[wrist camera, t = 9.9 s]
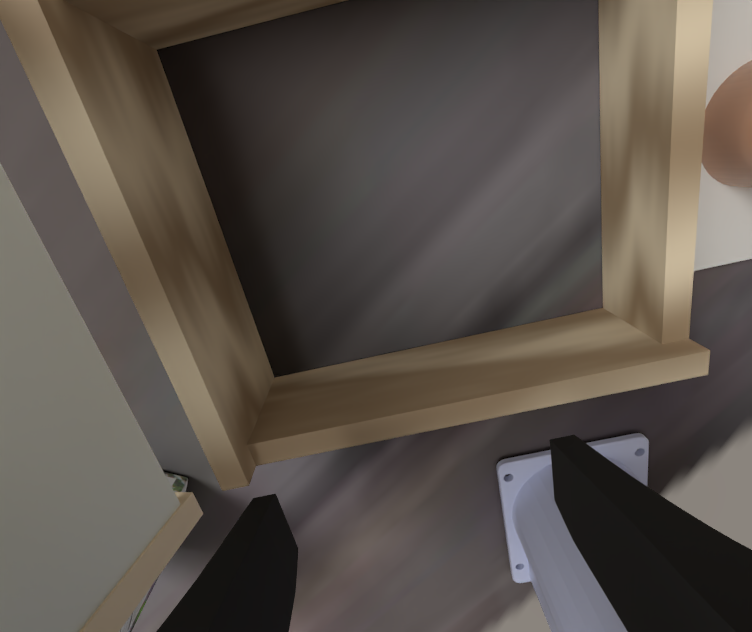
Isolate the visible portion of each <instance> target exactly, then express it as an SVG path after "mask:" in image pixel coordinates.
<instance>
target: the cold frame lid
mask: <svg viewBox="0 0 752 632" xmlns="http://www.w3.org/2000/svg"><path fill="white" fill-rule="evenodd" d="M202 515H203V512H202V510H201V508H200V506H199V504H198V502H197V500H196V498H195V496H194V494H193V492H174V491H173V489H172V487H171V485H170V483H169V481H168V479H167V477H166V476H165V474H164V472H163V470H162V468H161V466H160V464H159V462H158V460H157V459H156V457H155V455H154V453H153V451H152V449H151V447H150V445H149V443H148V441H147V440H146V438H145V436H144V434H143V432H142V430H141V428H140V426H139V424H138V423H137V421H136V419H135V417H134V415H133V413H132V411H131V409H130V407H129V406H128V404H127V402H126V400H125V398H124V396H123V394H122V392H121V390H120V389H119V387H118V385H117V383H116V381H115V379H114V377H113V375H112V373H111V371H110V370H109V368H108V366H107V364H106V362H105V360H104V358H103V356H102V354H101V353H100V351H99V349H98V347H97V345H96V343H95V341H94V339H93V337H92V336H91V334H90V332H89V330H88V328H87V326H86V324H85V322H84V320H83V319H82V317H81V315H80V313H79V311H78V309H77V307H76V305H75V303H74V301H73V300H72V298H71V296H70V294H69V292H68V290H67V288H66V286H65V284H64V283H63V281H62V279H61V277H60V275H59V273H58V271H57V269H56V267H55V266H54V264H53V262H52V260H51V258H50V256H49V254H48V252H47V250H46V249H45V247H44V245H43V243H42V241H41V239H40V237H39V235H38V233H37V231H36V230H35V228H34V226H33V224H32V222H31V220H30V218H29V216H28V214H27V213H26V211H25V209H24V207H23V205H22V203H21V201H20V199H19V197H18V196H17V194H16V192H15V190H14V188H13V186H12V184H11V182H10V180H9V179H8V177H7V175H6V173H5V171H4V169H3V167H2V165H1V163H0V632H119V631H120V629H121V628H122V627H123V625H124V624H125V622H126V621H127V620H128V618H129V617H130V615H131V614H132V613H133V611H134V610H135V608H136V607H137V606H138V604H139V603H140V601H141V600H142V599H143V597H144V596H145V595H146V593H147V592H148V590H149V589H150V588H151V586H152V585H153V583H154V582H155V581H156V579H157V578H158V576H159V575H160V574H161V572H162V571H163V569H164V568H165V567H166V565H167V564H168V562H169V561H170V560H171V558H172V557H173V555H174V554H175V553H176V551H177V550H178V549H179V547H180V546H181V544H182V543H183V542H184V540H185V539H186V537H187V536H188V535H189V533H190V532H191V530H192V529H193V528H194V526H195V525H196V523H197V522H198V521H199V519H200V518H201V516H202Z"/></svg>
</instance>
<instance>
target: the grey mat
mask: <svg viewBox="0 0 752 632" xmlns="http://www.w3.org/2000/svg"><path fill="white" fill-rule="evenodd" d="M751 60H752V0H713V10H712V24H711V38H710V52H709V66H708V79H707V93H706V107H707V105H708V103H709V101H710V100H711V98H712V96H713V95H714V93H715V92H716V90H717V89H718V88H719V86H720V85H721V84H722V83H723V82H724V81H725V80H726V79H727V78H728V77H729V76H730V75H731V74H732V73H733V72H734V71H736V70H737V69H738V68H740V67H741V66H742V65H744V64H746V63H747V62H749V61H751ZM706 107H705V109H706ZM748 259H752V188H745V187H734V186H728V185H725V184H722V183H720V182H718V181H717V180H715V179H714V178H712V177H711V176H710V175H709V174H708V172H707V171H706V169H705V168H704V166H703V164H702V163H701V177H700V191H699V205H698V219H697V232H696V246H695V260H694V271H697V270H701V269H706V268H711V267H715V266H720V265H725V264H729V263H734V262H739V261H743V260H748Z"/></svg>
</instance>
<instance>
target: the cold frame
mask: <svg viewBox="0 0 752 632" xmlns="http://www.w3.org/2000/svg"><path fill="white" fill-rule="evenodd" d="M343 1H347V0H0V19H1V21H2V23H3V26H4V28H5V30H6V32H7V34H8V36H9V38H10V40H11V43H12V45H13V47H14V49H15V51H16V53H17V55H18V57H19V60H20V62H21V64H22V66H23V68H24V70H25V72H26V74H27V77H28V79H29V81H30V83H31V85H32V87H33V89H34V91H35V94H36V96H37V98H38V100H39V102H40V104H41V106H42V109H43V111H44V113H45V115H46V117H47V119H48V121H49V123H50V126H51V128H52V130H53V132H54V134H55V136H56V138H57V140H58V143H59V145H60V147H61V149H62V151H63V153H64V155H65V157H66V160H67V162H68V164H69V166H70V168H71V170H72V172H73V174H74V177H75V179H76V181H77V183H78V185H79V187H80V189H81V191H82V194H83V196H84V198H85V200H86V202H87V204H88V206H89V208H90V211H91V213H92V215H93V217H94V219H95V221H96V223H97V225H98V228H99V230H100V232H101V234H102V236H103V238H104V240H105V242H106V245H107V247H108V249H109V251H110V253H111V255H112V257H113V259H114V262H115V264H116V266H117V268H118V270H119V272H120V274H121V276H122V279H123V281H124V283H125V285H126V287H127V289H128V291H129V293H130V296H131V298H132V300H133V302H134V304H135V306H136V308H137V310H138V313H139V315H140V317H141V319H142V321H143V323H144V325H145V327H146V330H147V332H148V334H149V336H150V338H151V340H152V342H153V344H154V347H155V349H156V351H157V353H158V355H159V357H160V359H161V361H162V364H163V366H164V368H165V370H166V372H167V374H168V376H169V378H170V381H171V383H172V385H173V387H174V389H175V391H176V393H177V395H178V398H179V400H180V402H181V404H182V406H183V408H184V410H185V412H186V415H187V417H188V419H189V421H190V423H191V425H192V427H193V429H194V432H195V434H196V436H197V438H198V440H199V442H200V444H201V446H202V449H203V451H204V453H205V455H206V457H207V459H208V461H209V463H210V466H211V468H212V470H213V472H214V474H215V476H216V478H217V480H218V483H219V485H220V487H221V489H222V491H224V490H229V489H234V488H239V487H244V486H249V484H250V481H251V478H252V476H253V473H254V470H255V467H256V466H258V465H263V464H267V463H272V462H277V461H282V460H287V459H292V458H297V457H302V456H307V455H312V454H317V453H322V452H327V451H332V450H337V449H342V448H347V447H352V446H357V445H362V444H367V443H372V442H377V441H382V440H387V439H392V438H396V437H401V436H406V435H411V434H416V433H421V432H426V431H431V430H436V429H441V428H446V427H451V426H456V425H461V424H466V423H471V422H476V421H481V420H486V419H491V418H496V417H501V416H506V415H511V414H516V413H520V412H525V411H530V410H535V409H540V408H545V407H550V406H555V405H560V404H565V403H570V402H575V401H580V400H585V399H590V398H595V397H600V396H605V395H610V394H615V393H620V392H625V391H630V390H635V389H640V388H645V387H649V386H654V385H659V384H664V383H669V382H674V381H679V380H684V379H689V378H694V377H699V376H704V375H708V369H709V359H710V350H709V349H707V348H705V347H703V346H701V345H699V344H698V343H696V342H694V341H692V340H690V339H689V330H690V316H691V302H692V288H693V274H694V260H695V246H696V232H697V219H698V205H699V191H700V177H701V163H702V149H703V135H704V121H705V107H706V93H707V79H708V66H709V52H710V38H711V24H712V10H713V0H598V1H599V71H600V141H601V210H602V280H603V308H600V309H595V310H590V311H585V312H581V313H576V314H571V315H567V316H562V317H557V318H553V319H548V320H543V321H538V322H534V323H529V324H524V325H520V326H515V327H510V328H505V329H501V330H496V331H491V332H487V333H482V334H477V335H473V336H468V337H463V338H458V339H454V340H449V341H444V342H440V343H435V344H430V345H425V346H421V347H416V348H411V349H407V350H402V351H397V352H393V353H388V354H383V355H378V356H374V357H369V358H364V359H360V360H355V361H350V362H345V363H341V364H336V365H331V366H327V367H322V368H317V369H313V370H308V371H303V372H298V373H294V374H289V375H284V376H280V377H274V375H273V372H272V369H271V366H270V364H269V361H268V358H267V355H266V352H265V350H264V347H263V344H262V341H261V339H260V336H259V333H258V330H257V327H256V325H255V322H254V319H253V316H252V314H251V311H250V308H249V305H248V302H247V300H246V297H245V294H244V291H243V289H242V286H241V283H240V280H239V277H238V275H237V272H236V269H235V266H234V264H233V261H232V258H231V255H230V252H229V250H228V247H227V244H226V241H225V239H224V236H223V233H222V230H221V227H220V225H219V222H218V219H217V216H216V214H215V211H214V208H213V205H212V202H211V200H210V197H209V194H208V191H207V189H206V186H205V183H204V180H203V177H202V175H201V172H200V169H199V166H198V164H197V161H196V158H195V155H194V152H193V150H192V147H191V144H190V141H189V139H188V136H187V133H186V130H185V127H184V125H183V122H182V119H181V116H180V114H179V111H178V108H177V105H176V102H175V100H174V97H173V94H172V91H171V88H170V86H169V83H168V80H167V77H166V75H165V72H164V69H163V66H162V63H161V61H160V58H159V55H158V52H157V50H158V49H161V48H165V47H169V46H173V45H177V44H181V43H185V42H189V41H192V40H196V39H200V38H204V37H208V36H212V35H216V34H219V33H223V32H227V31H231V30H235V29H239V28H243V27H246V26H250V25H254V24H258V23H262V22H266V21H270V20H273V19H277V18H281V17H285V16H289V15H293V14H297V13H301V12H304V11H308V10H312V9H316V8H320V7H324V6H328V5H331V4H335V3H339V2H343Z"/></svg>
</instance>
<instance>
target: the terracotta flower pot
mask: <svg viewBox="0 0 752 632" xmlns="http://www.w3.org/2000/svg"><path fill="white" fill-rule="evenodd" d="M702 164H703V166H704V168H705V169H706V171H707V172H708V174H709V175H710V176H711V177H712V178H714V179H715V180H717V181H718V182H720V183H722V184H725V185H728V186H734V187H745V188H752V60H751V61H749V62H747V63H746V64H744V65H742V66H741V67H740V68H738V69H737V70H736V71H734V72H733V73H732V74H731V75H730V76H729V77H728V78H727V79H726V80H725V81H724V82H723V83H722V84H721V85H720V86H719V88H718V89H717V90H716V92H715V93H714V95H713V96H712V98H711V100H710V101H709V103H708V105H707V107H706V109H705V121H704V135H703V149H702Z"/></svg>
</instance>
